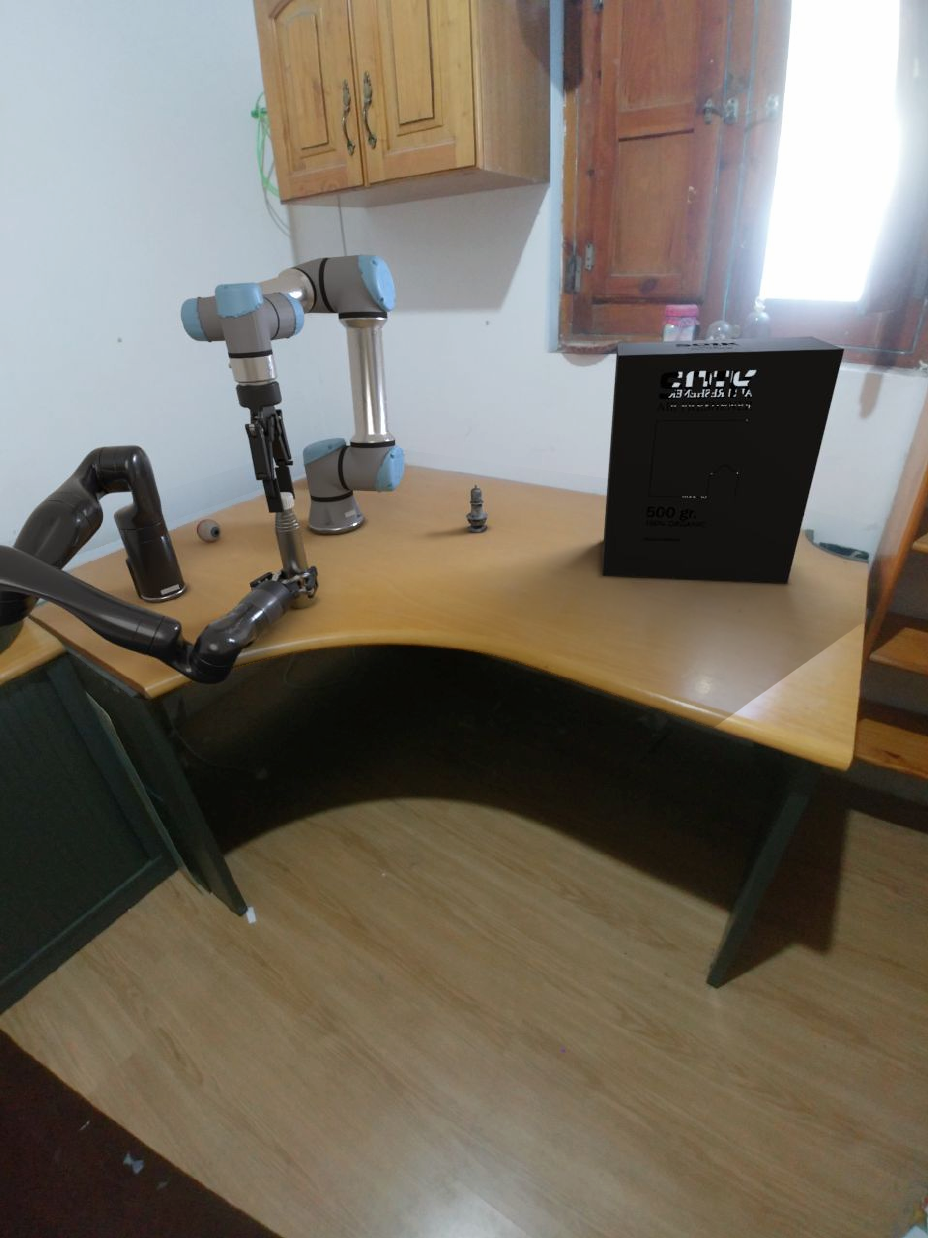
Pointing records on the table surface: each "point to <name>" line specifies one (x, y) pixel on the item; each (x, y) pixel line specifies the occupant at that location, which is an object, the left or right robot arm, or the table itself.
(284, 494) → the cap
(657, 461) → the black rectangular box
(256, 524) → the table surface
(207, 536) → the eyeball
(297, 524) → the bottle
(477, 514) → the grey upright piece
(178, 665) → the left robot arm
